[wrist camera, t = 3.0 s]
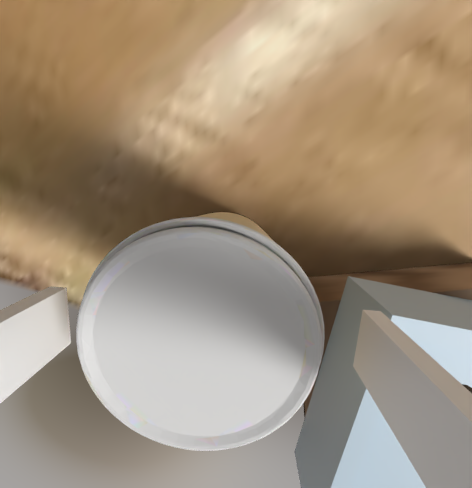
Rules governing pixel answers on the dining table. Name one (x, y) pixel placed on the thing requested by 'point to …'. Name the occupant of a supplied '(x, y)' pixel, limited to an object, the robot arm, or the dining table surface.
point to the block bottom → (420, 278)
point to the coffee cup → (201, 332)
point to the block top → (357, 396)
